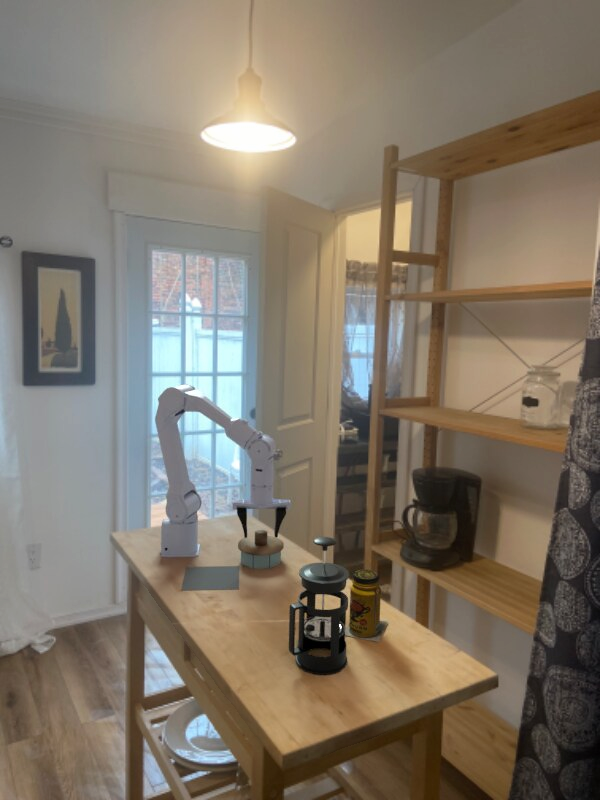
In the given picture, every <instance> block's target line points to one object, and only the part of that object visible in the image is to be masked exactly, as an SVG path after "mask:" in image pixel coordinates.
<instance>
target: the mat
mask: <svg viewBox="0 0 600 800" xmlns="http://www.w3.org/2000/svg"><path fill="white" fill-rule="evenodd" d="M239 589H240V566H239V565H226V566H225V565H224V566H222V565H221V566H219V565H218V566H217V565H216V566H206V565H205V566H185V571H184V575H183V580H182V585H181V589H180V591H182V592H183V591H219V590H221V591H223V590H224V591H226V590H228V591H229V590H230V591H231V590H233V591H235V590H236V591H237V590H239Z"/></svg>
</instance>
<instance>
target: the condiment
mask: <svg viewBox="0 0 600 800" xmlns="http://www.w3.org/2000/svg"><path fill="white" fill-rule="evenodd" d="M380 579H381V578H380V575H379V573H378V572H376V571H374V570H373V569H359V570H356V571H354V572H353V574H352V584H351V585H350V590H349V591H350V595H349V598H350V599H349V622H348V624H347V627H345V628H346V630H345V636H348V637H351V638H355V639H360V640H365V641H373V642H378V643H379V642H380V641H381V638H382V636H383V634H384V632H385V629H386V628H387V624H388V622H389V621H387V620H381V617H380V616H381V598H382V597H381V596H382V595H381V594H382V589H381V586H380Z"/></svg>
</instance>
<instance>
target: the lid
mask: <svg viewBox="0 0 600 800" xmlns="http://www.w3.org/2000/svg"><path fill="white" fill-rule="evenodd" d="M284 545H285V544H284V541H283V540H281V539H280V538H278V537H275V536H272V535H271V536H270V535H268V531H267V530H264V529H257V530H255V531H254V535H251V536H247V538H241V539H240V540H238V543H237V548H238V550H239V551H240V552H241V551H242V552H244V553H246V554H250V555H271V554H275V553H278V552H280V551H281V552H282V551H283V550H284V547H285V546H284Z"/></svg>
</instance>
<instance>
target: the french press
mask: <svg viewBox="0 0 600 800" xmlns="http://www.w3.org/2000/svg"><path fill="white" fill-rule="evenodd" d="M337 541H338V540H336V538H333V537H329V536H319V537H315V538H314V539H313V543H314V544H315V545H316V546H321V548H322V549H321V550H322V551H323V562H313V563H312V562H311V563H308V564H305V565H303V566H302V567H300V568H299V572H298V574H299V577H300V578H301V579H300V581H301V583H300V584H301V587H303V589H305V590H303V591H301V592H300V593H299V595H298V597H297V598H298V602H295V603H292V604H290V605H289V610H288V611H289V613H288V614H289V616H288V617H289V619H288V651H289V653H291V655H292V656H295V663H296V665H297V666H298V668H299V669H301V670H302V671H304V672H305V673H308V674H309V675H310V674H311V675H315V676H331V675H335V674H337V673H340V672H341V671H343V670H344V669H345V668H346V667H347V664H348V656H347V641H346V635H345V630H346V628H347V627H346V620H347V619H346V618H347V611H348V609H349V598H348V596H347V594H346V593H344V592H343V590H345V589H346V587H347V580H348V579H349V578H350V571H349V570H348V569H347V568H345V567H344V566H342V565H339V564H337V563H336V564H335V563H332V562H326V557H327V556H326V554H327V551H328V550H329V549H328V547H332V546H335V545H337V543H338V542H337ZM316 595H321V597H322V602H321V609H320V608H316V598H317V597H316ZM325 596H332V597H336V598H339V599H340V600H339V601H340V602H339V603H340V604H339V605H340V607H337V608H331V609H325ZM305 598H306V604H304V603H303V602H302V601H303V600H304V599H305ZM297 610H298V638H297V641H296V642H297V643H296V644H295V640H296V638H295V636H296V611H297ZM305 615H306V618H305ZM295 645H296V647H295ZM312 650H313V651H314V650H326V651H329V656H327V655H326V656H319V655H314V654H310V653H308V652H310V651H312Z"/></svg>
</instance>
